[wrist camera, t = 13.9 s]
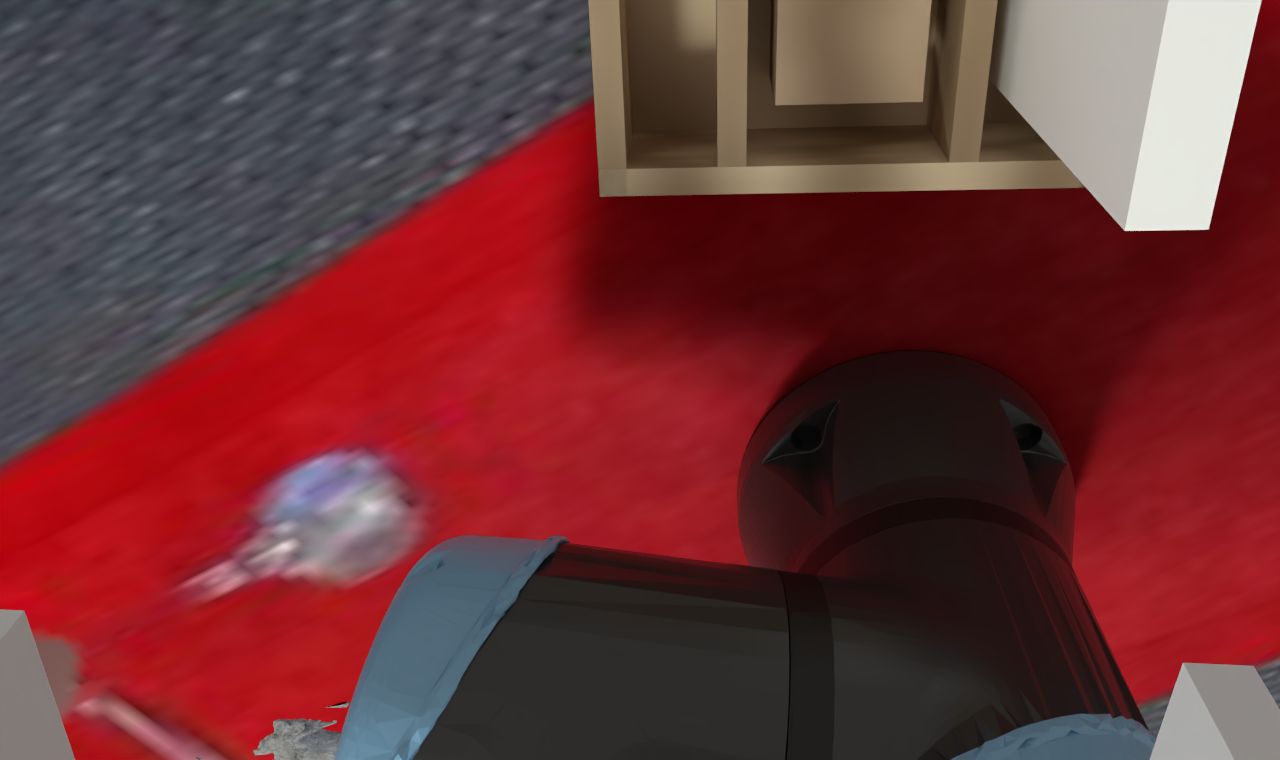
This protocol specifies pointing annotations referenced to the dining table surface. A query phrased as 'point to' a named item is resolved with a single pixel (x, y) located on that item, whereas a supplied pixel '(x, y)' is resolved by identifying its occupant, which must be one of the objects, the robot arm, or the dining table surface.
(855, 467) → the robot arm
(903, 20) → the upper offcut
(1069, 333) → the dining table surface
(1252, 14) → the tall sheet
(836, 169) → the rack
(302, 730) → the stone slab
